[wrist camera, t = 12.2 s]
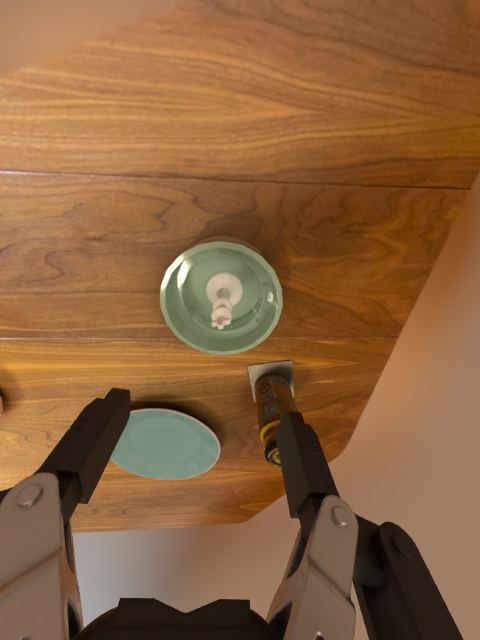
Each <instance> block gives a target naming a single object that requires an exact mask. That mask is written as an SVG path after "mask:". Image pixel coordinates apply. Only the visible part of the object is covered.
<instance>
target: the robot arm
mask: <svg viewBox="0 0 480 640" xmlns="http://www.w3.org/2000/svg"><path fill="white" fill-rule="evenodd" d="M130 412H131V404H130V390H126V389H118V388H112V389H111V390H110V391H109V392H108V394H107V395H106V397H105V398H104V399H101V398H96V399H95V400H94V401H92V402H91V403H90V404H88V405H87V406H86V407H85V408H84V409H83V411H82V412H81V413H80V415H79V416H78V417H77V420H75V421H74V423H73V424H72V425H71V427H70V429H68V431H67V432H66V433H65V435H64V436H63V437H62V439H61V440H60V441H59V443H58V444H57V445H56V447H55V448H54V449H53V451H52V452H51V453H50V455H49V456H48V457H47V459H46V460H45V462H44V463H43V464H42V465H41V467H40V468H39V469H38V470H37V471H36V472H35V473H34V474H33V475H32V476H29V477H27V478H25V479H24V480H22V481H21V482H19V483H18V484H17V485H15V486H14V487H12V488H9V489H7V490H3V491H0V640H354V632H355V622H356V612H355V607H354V604H353V603H352V601H351V597H350V592H351V585H352V581H353V584H354V588H355V591H356V595H357V598H358V602H359V606H360V609H361V613H362V616H363V620H364V623H365V627H366V630H367V634H368V637H369V640H463V638H462V636H461V634H460V632H459V630H458V628H457V626H456V624H455V622H454V620H453V618H452V616H451V614H450V612H449V610H448V608H447V606H446V604H445V602H444V600H443V598H442V596H441V594H440V592H439V590H438V588H437V586H436V584H435V582H434V580H433V578H432V576H431V574H430V572H429V570H428V568H427V566H426V564H425V562H424V560H423V558H422V556H421V554H420V552H419V550H418V548H417V547H416V545H415V543H414V542H413V540H412V539H411V538H410V536H409V535H408V534H407V533H406V532H405V531H404V530H403V529H402V528H401V527H399V526H398V525H396V524H394V523H391V522H384V523H383V524H381V525H380V526H379V525H376V524H374V523H372V522H370V521H368V520H366V519H364V518H362V517H360V516H358V515H356V514H355V513H354V512H353V511H352V509H351V508H350V506H349V505H348V504H347V503H346V502H345V501H344V500H343V499H341V497H340V496H339V494H338V491H337V489H336V486H335V483H334V480H333V478H332V475H331V472H330V469H329V467H328V464H327V461H326V458H325V456H324V453H323V450H322V447H321V445H320V442H319V439H318V437H317V434H316V433H315V431H314V430H313V429H312V427H311V426H310V425H309V424H305V423H304V420H303V417H302V414H301V413H300V412H293V411H285V413H284V415H283V417H282V419H281V421H280V423H279V426H278V428H277V432H276V440H277V446H278V451H279V456H280V462H281V467H282V473H283V478H284V484H285V489H286V495H287V500H288V506H289V511H290V516H291V518H299V520H300V524H301V528H300V530H299V532H298V535H297V538H296V541H295V544H294V547H293V550H292V553H291V556H290V559H289V562H288V565H287V568H286V571H285V574H284V577H283V579H282V582H281V584H280V586H279V588H278V590H277V592H276V594H275V596H274V598H273V601H272V603H271V606H270V609H269V612H268V615H267V618H266V621H265V620H264V619H263V618H262V617H261V616H260V615H259V614H257V613H256V612H255V611H253V610H251V609H250V600H236V599H235V600H234V599H219V600H217V601H214V602H212V603H210V604H208V605H205V606H202V607H200V608H198V609H195V610H193V611H191V612H188V613H183V612H181V611H179V610H177V609H175V608H173V607H171V606H168V605H166V604H164V603H162V602H160V601H158V600H156V599H154V598H120V601H119V604H118V607H115V608H113V609H111V610H109V611H107V612H105V613H104V614H102V615H100V616H99V617H98V618H96V619H95V620H93V621H92V622H91V623H90V624H89V625H87V626H86V627H85V628H84V627H83V617H82V608H81V599H80V592H79V586H78V582H77V576H76V567H75V557H74V547H73V536H72V526H71V516H72V514H73V512H74V510H75V508H76V506H77V504H78V503H82V504H88V502H89V500H90V498H91V496H92V494H93V492H94V490H95V488H96V486H97V484H98V482H99V480H100V477H101V475H102V473H103V471H104V469H105V467H106V465H107V463H108V461H109V459H110V457H111V455H112V453H113V451H114V449H115V447H116V445H117V443H118V441H119V439H120V437H121V435H122V433H123V431H124V429H125V427H126V425H127V423H128V420H129V417H130Z"/></svg>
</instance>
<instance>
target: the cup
mask: <svg viewBox="0 0 480 640" xmlns="http://www.w3.org/2000/svg"><path fill="white" fill-rule="evenodd" d="M2 410H3V402H2V398H1V396H0V416H1V415H2Z"/></svg>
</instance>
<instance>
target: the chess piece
mask: <svg viewBox="0 0 480 640" xmlns="http://www.w3.org/2000/svg"><path fill="white" fill-rule="evenodd" d="M242 294H243V284H242V282H241V280H240V278H239V277H238V276H237V275H235V274H234V273H232V272H229V271H219V272H216V273H214V274H213V275H211V276H210V278H209V279H208V281H207V283H206V295H207V297H208V299H209V301H210V302H211V303H212V304H213V312H212V314H211V318H212V322H211V324H212V327H216V326H218V329H223V327H224V325H228V324H230V321H231V319H232V314H231V311H232V308H233V306H234V305H236V304H237V303H238V302H239V301H240V299H241V297H242Z"/></svg>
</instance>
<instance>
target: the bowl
mask: <svg viewBox="0 0 480 640" xmlns="http://www.w3.org/2000/svg"><path fill="white" fill-rule="evenodd" d="M219 271H229V272H232V273H234V274H235V275H237V276H238V277H239V278H240V280H241V282H242V284H243V294H242V297H241V299H240V301H239V302H238V303H237V304H236V305H234V306H233V308H232V311H231V314H232V319H231V321H230V324H228V325H224V327H223V329H218V326H216V327H212V324H211V322H212V318H211V314H212V312H213V304H212V303H211V302H210V301H209V299H208V297H207V295H206V283H207V281H208V279H209V278H210V276H211V275H213V274H214V273H216V272H219ZM282 306H283V302H282V287H281V285H280V283H279V280H278V278H277V275H276V273H275V271H274V269H273V268H272V266H271V265H270V263H269V262H268V260H267V259H266V258H265V257H264V256H263V254H262V253H261V252H260V251H259V250H258V249H257V248H256V247H255V246H253V245H251V244H250V243H248V242H246V241H244V240H243V239H240V238H236V237H231V236H226V235H220V236H213V237H207V238H204V239H202V240H200V241H198V242H196V243H194V244H193V245H191V246H189V247H188V248H187V249H186V250H185V251H183V252H182V253H181V254H180V255H179V256H178V257H177V258H176V259H175V260H174V262H173V263H172V264H171V265H170V266H169V267H168V268H167V270H166V272H165V275H164V278H163V280H162V283H161V286H160V307H161V310H162V313H163V316H164V319H165V322H166V324H167V325H168V326H169V328H170V329H171V330H172V332H173V333H174V334H175V336H177V337H178V338H179V339H180V340H182V341H183V342H184V343H186V344H187V345H188V346H190V347H191V348H194V349H196V350H199V351H201V352H204V353H207V354H215V355H230V354H238V353H242V352H244V351H247V350H249V349H251V348H254V347H256V346H257V345H258V344H260V343H261V342H262V341H263V340H265V339H266V338H267V337H268V336H269V335H270V333H271V332H272V330H273V329H274V328H275V326H276V325H277V323H278V320H279V317H280V314H281V310H282Z"/></svg>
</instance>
